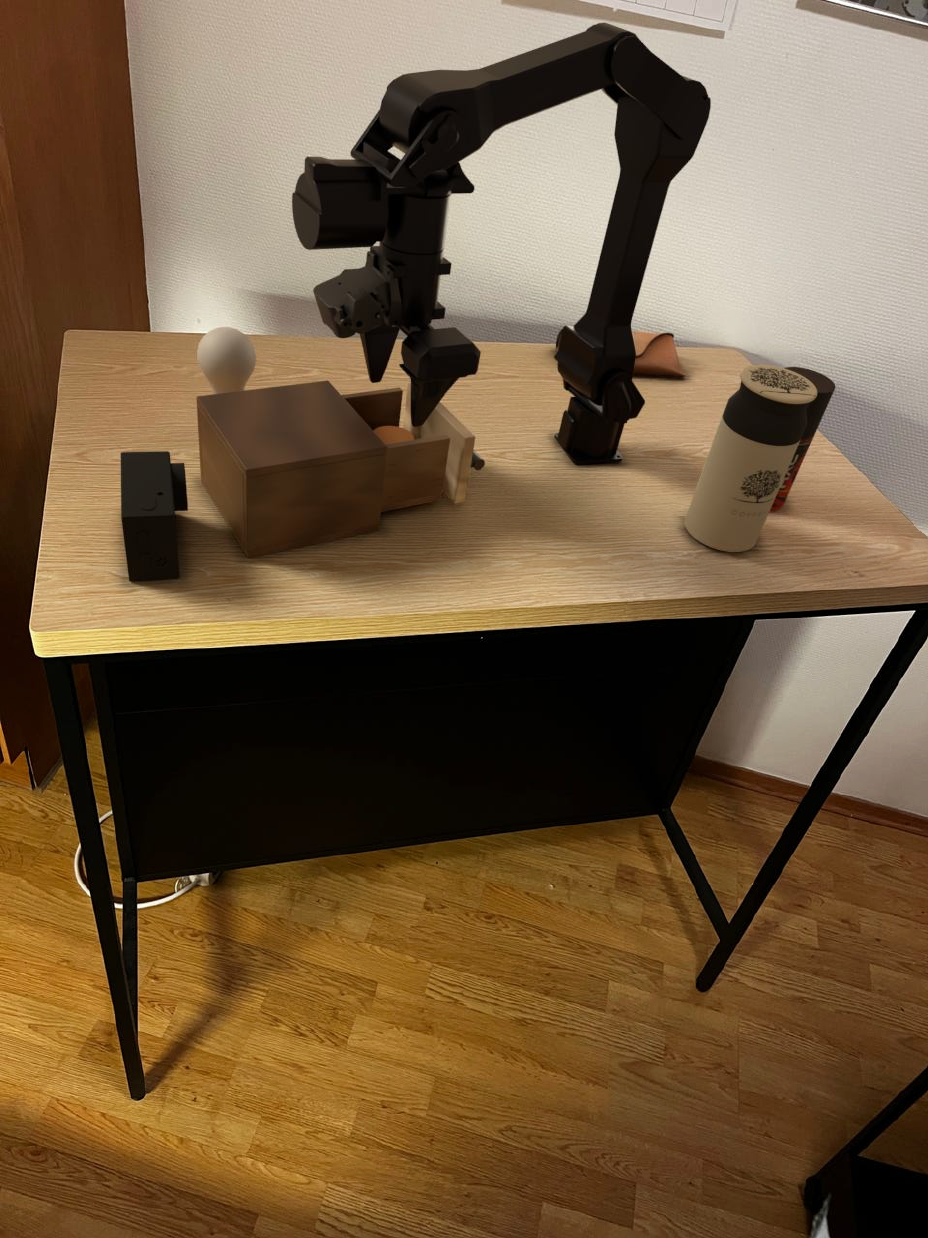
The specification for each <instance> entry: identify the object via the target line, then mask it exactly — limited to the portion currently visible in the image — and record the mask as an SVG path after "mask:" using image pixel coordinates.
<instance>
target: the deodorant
mask: <svg viewBox="0 0 928 1238" xmlns="http://www.w3.org/2000/svg"><path fill="white" fill-rule="evenodd" d="M783 368H784V369H788V370H790V371H793V372H795V373H798V374H800V375H802V376H803V377H805V378H806V379H808V380H809V381H810V382H812V383H813V384H814V386H815V387H816V389H817V397H816V398H815V399H814V400H813V401H811V402H810V403H809V405H808V407H807V408H806V415H807V426H806V428H805V431H804V433H803V435H802V438H801V440H800V442H799V444H798V447H797V449H796V451H795V454H794V456H793V458H792V461H791V463H790V465H789V467H788V470H787V472H786V474H785V477H784V479H783V481H782V484H781V486H780V488H779V491H778V493H777V495H776V497H775V500H774V502H773V504H772V507H771V509H770V511H769V513H772V512H773V513H774V512H778V511H780V510H781V509H782V508H784V505H785V503H786V501H787V498H788V496H789V493H790V492H791V489H792V487H793V485H794V482H795V480H796V478H797V475H798V473H799V471H800V469H801V467H802V464H803V462H804V460H805V457H806V455H807V453H808V451H809V449H810V446H811V444H812V442H813V440H814V437H815V436H816V435H815V434H816V433H817V431H818V428H819V425H820V424H821V422H822V419H823V417H824V415H825V413H826V410H827V408H828V406H829V405H830V401H831V399H832V397H833V395H834V393H835V390H836V383H835V382H834V381H833V380H832V379H830V378H829V377H828V376H827V375H825V374H823V373H820V372H818V371H816V370H814V369H809V368H805V367H800V366H787V367H783Z"/></svg>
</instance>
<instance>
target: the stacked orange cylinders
mask: <svg viewBox="0 0 928 1238" xmlns="http://www.w3.org/2000/svg"><path fill="white" fill-rule="evenodd" d="M374 432H375V434H376V435H377V436H378V437H379V438H380V439H381V440H382V441H383V443H384V444H385V445H386V444H392V443H398V442H404V441H410V440H414V436H413V435H412V433H411V432H409V431H408V430H406V429H404V428H403V427H400V426H399V427H396V426H382V427H378V428H376V429H375V430H374Z"/></svg>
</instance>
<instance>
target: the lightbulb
mask: <svg viewBox="0 0 928 1238" xmlns="http://www.w3.org/2000/svg"><path fill="white" fill-rule="evenodd" d="M256 353H257V352H256V349H255V346H254V344H253V343H252V341H251V340H250V338H249V337H248V336H247V335H246V334H245V333H244V332H242V331H240V330H239V329H237V328H233V327H229V326H220V327H216V328H213V329H211V330H209V331H208V332H206V333H205V334H204V335H203V337H202V338H201V339H200V341H199V343H198V346H197V350H196V359H197V364H198V366H199V368H200V370H201V372H202V374H203V375H204V377H205V378H206V380H207V382H208V384H209V387H210V388H211V392H212V395H213V394H221V393H229V392H237V391H245V388H246V385H247V383H248V381H249V380H250V378H251V376H252V374H253V372H254V371H255V368H256V363H257V354H256Z"/></svg>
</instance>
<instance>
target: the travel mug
mask: <svg viewBox="0 0 928 1238" xmlns="http://www.w3.org/2000/svg"><path fill="white" fill-rule="evenodd" d="M784 368H785V367H780V366H777V365H772V364H771V365H770V364H751V365H747V366H746V367H744V368H742V369H741V371H740V374H739V378H740V385H739V389H737V391H735V392H734V393H733V394H732V395H731V396H730V397H729V398H728V400H727V402H726V404H725V407H724V410H723V413H722V416H721V418H720V421H719V424H718V427H717V429H716V432H715V435H714V438H713V441H712V443H711V446H710V449H709V452H708V454H707V457H706V460H705V462H704V465H703V468H702V471H701V473H700V475H699V476H700V477H699V479H698V482H697V484H696V486H695V490H694V492H693V496H692V499H691V501H690V504H689V507H688V509H687V512H686V515H685V517H684V522H683V523H684V526H685V528H686V531H687V532H688V533H689V535H691V537H693V538H694V539H695V540H697V541H698V542H699V543H701V544H703V545H705V546H707V547H708V548H711V549H715V550H719V551H722V552H730V553H741V552H746V551H749V550H751V549H753V547H754V546H755V545H756V544H757V541H758V539H759V537H760V535H761V532H762V530H763V527H764V525H765V522H766V521H767V518H768V516H769V513H770V512H769V511H770V509H771V507H772V504H773V502H774V500H775V497H776V495H777V493H778V491H779V488H780V486H781V484H782V481H783V479H784V477H785V474H786V472H787V470H788V467H789V465H790V463H791V461H792V458H793V456H794V454H795V451H796V449H797V447H798V444H799V442H800V440H801V438H802V435H803V433H804V431H805V428H806V426H807V415H806V408H807V407H808V405H809V403H810V402H811V401H813V400H814V399H815V398H816V397H817V389H816V387H815V386H814V384H813V383H812V382H810V381H809V380H808V379H806V378H805V377H803V376H802V375H800V374H798V373H795V372H793V371H790V370H788V369H784Z"/></svg>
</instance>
